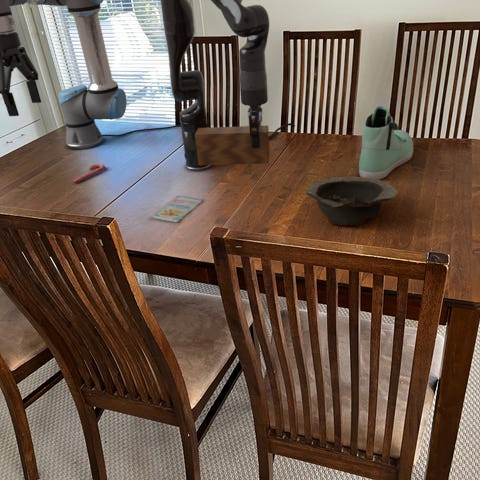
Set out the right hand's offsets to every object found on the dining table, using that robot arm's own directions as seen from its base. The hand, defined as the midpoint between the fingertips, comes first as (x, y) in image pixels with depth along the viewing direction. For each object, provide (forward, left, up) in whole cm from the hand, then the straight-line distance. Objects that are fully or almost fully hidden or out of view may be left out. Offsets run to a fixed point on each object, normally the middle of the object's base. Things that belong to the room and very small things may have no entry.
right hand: (256, 143), depth 142 cm
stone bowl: (-11, +27, -17) cm, 34 cm away
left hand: (+49, -48, +13) cm, 70 cm away
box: (+5, -5, -5) cm, 9 cm away
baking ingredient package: (+24, -10, -17) cm, 31 cm away
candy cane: (+33, -57, -17) cm, 68 cm away
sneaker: (-47, +12, -17) cm, 51 cm away
